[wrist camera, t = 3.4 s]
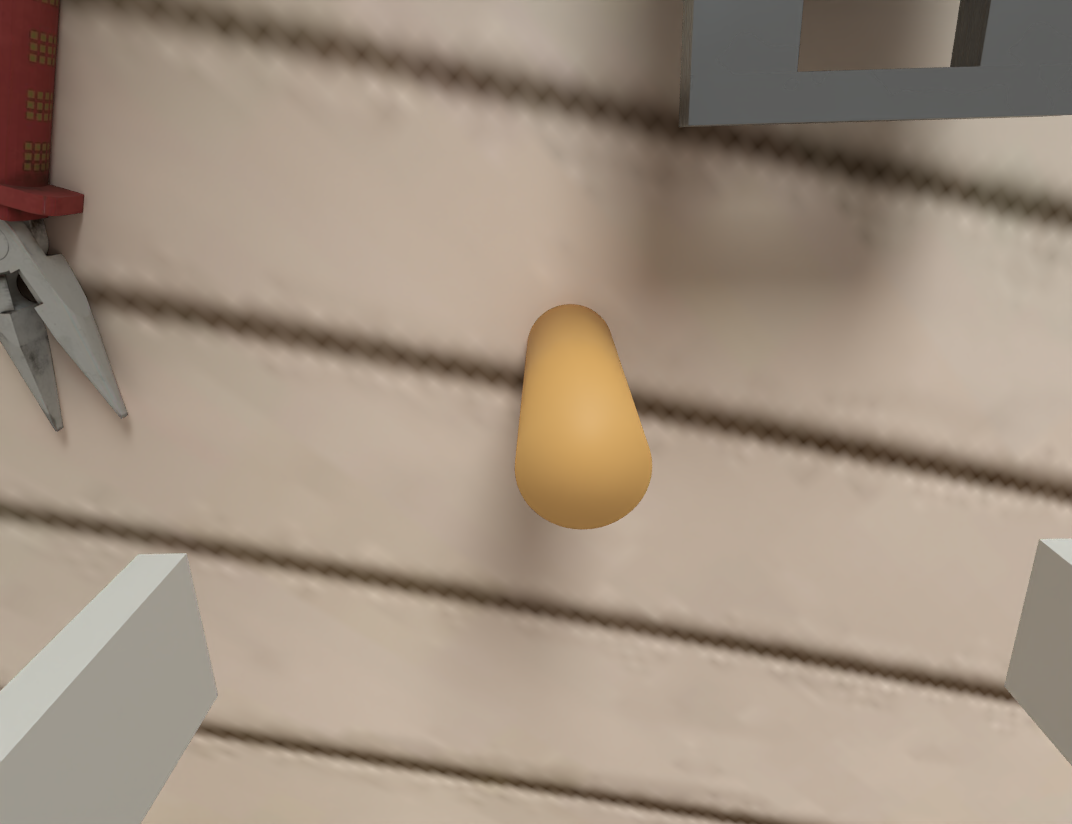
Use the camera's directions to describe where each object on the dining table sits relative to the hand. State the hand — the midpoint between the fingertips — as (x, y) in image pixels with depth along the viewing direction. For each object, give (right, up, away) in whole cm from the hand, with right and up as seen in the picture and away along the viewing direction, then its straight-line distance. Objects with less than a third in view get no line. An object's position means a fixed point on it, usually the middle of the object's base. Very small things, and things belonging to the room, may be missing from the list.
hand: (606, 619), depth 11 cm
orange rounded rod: (0, +6, +16) cm, 17 cm away
